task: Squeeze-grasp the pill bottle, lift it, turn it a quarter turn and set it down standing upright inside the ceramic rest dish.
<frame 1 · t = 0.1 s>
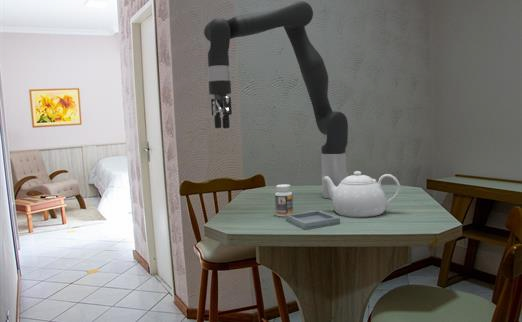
hand: (222, 128, 145), 29 cm above the table, fingers open, 8 cm apart
teapot: (360, 212, 140), on the table
rest dish: (312, 222, 129), on the table
pill bottle: (284, 215, 140), on the table
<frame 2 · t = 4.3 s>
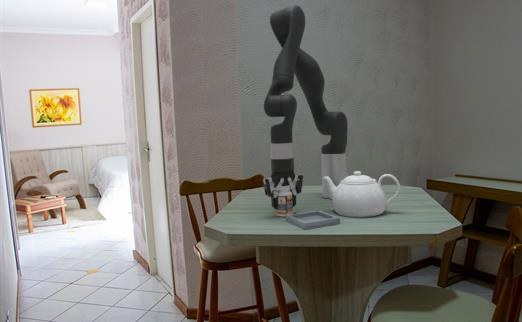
hand: (284, 207, 140), 3 cm above the table, fingers closed on pill bottle, 5 cm apart
pill bottle: (284, 215, 140), on the table, touching gripper
everything else where it was.
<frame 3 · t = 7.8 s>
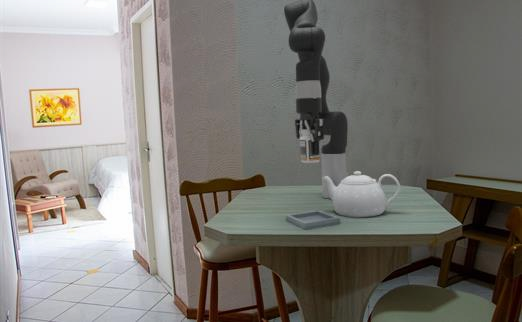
hand: (310, 153, 127), 21 cm above the table, fingers closed on pill bottle, 5 cm apart
pill bottle: (310, 162, 127), point 18 cm above the table, touching gripper
everything else where it was.
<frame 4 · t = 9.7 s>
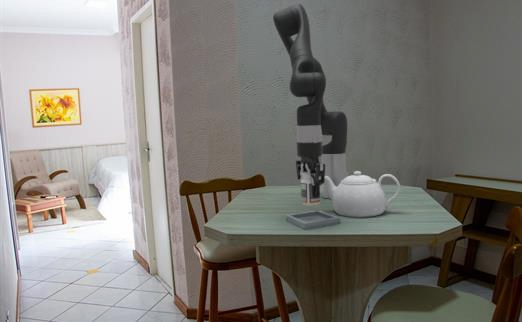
hand: (310, 195, 128), 8 cm above the table, fingers closed on pill bottle, 5 cm apart
pill bottle: (310, 204, 129), point 5 cm above the table, touching gripper
everything else where it was.
when the fingers open (5 cm above the table, at t = 11.5 s): pill bottle drops 2 cm, resting on rest dish.
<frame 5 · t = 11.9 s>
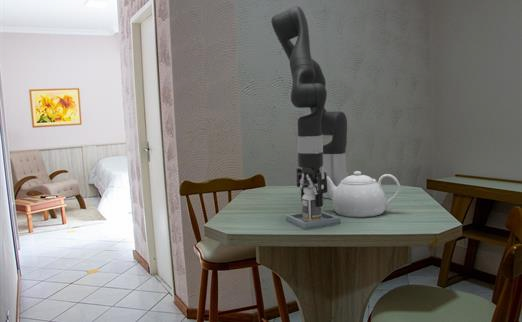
hand: (311, 204, 129), 6 cm above the table, fingers open, 8 cm apart
pill bottle: (312, 220, 129), resting on rest dish
everything else where it was.
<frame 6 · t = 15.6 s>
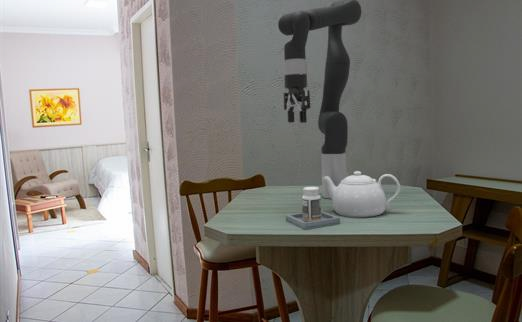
hand: (297, 122, 143), 30 cm above the table, fingers open, 8 cm apart
nothing on the table moved.
at the end: pill bottle inside the target area on the rest dish (0.2 cm from its centre), point 0.4 cm above the rest dish's base; pill bottle tilted 0°; the gripper is holding nothing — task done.
